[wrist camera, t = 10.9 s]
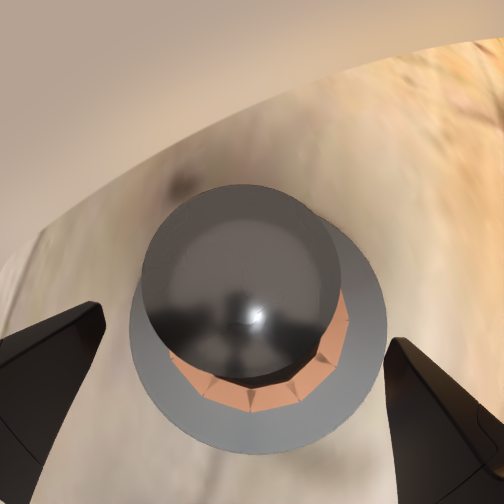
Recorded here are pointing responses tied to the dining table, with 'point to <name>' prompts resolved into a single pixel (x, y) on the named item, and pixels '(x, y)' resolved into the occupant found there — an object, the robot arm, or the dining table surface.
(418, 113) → the dining table surface
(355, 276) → the slate seat plate
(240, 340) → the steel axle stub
